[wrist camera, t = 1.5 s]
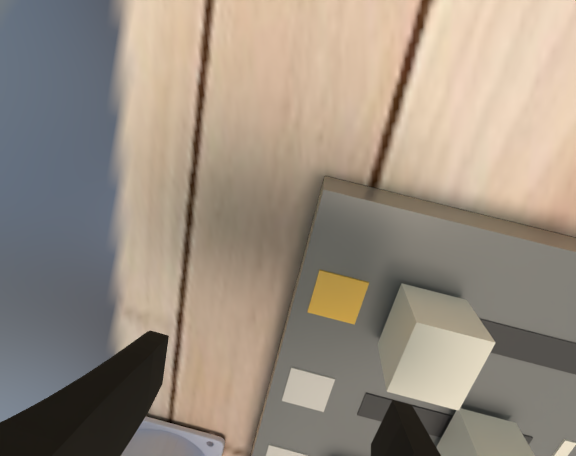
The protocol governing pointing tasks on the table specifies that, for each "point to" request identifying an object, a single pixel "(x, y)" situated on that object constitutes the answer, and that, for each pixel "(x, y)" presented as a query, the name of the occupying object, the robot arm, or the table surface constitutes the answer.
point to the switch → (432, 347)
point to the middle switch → (482, 436)
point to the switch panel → (378, 303)
